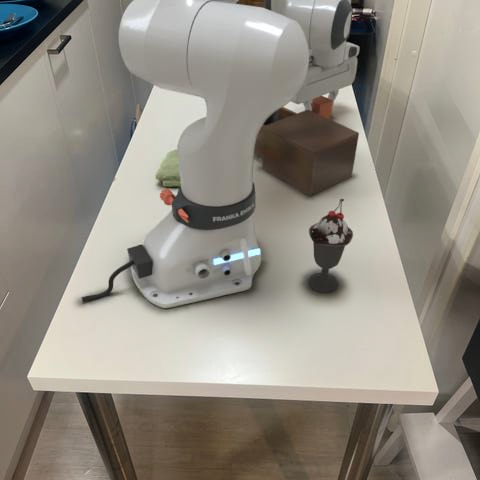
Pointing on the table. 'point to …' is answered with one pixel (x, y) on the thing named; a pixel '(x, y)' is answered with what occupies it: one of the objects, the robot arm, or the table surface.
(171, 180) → the washcloth
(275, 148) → the cabinet
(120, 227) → the table surface
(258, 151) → the drawer
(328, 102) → the block
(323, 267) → the sundae
